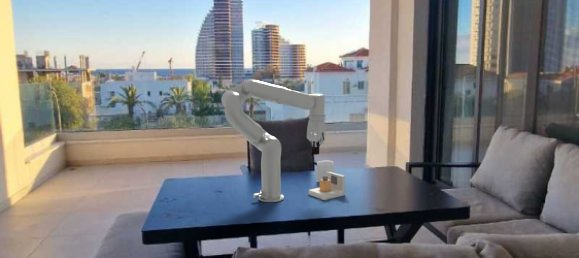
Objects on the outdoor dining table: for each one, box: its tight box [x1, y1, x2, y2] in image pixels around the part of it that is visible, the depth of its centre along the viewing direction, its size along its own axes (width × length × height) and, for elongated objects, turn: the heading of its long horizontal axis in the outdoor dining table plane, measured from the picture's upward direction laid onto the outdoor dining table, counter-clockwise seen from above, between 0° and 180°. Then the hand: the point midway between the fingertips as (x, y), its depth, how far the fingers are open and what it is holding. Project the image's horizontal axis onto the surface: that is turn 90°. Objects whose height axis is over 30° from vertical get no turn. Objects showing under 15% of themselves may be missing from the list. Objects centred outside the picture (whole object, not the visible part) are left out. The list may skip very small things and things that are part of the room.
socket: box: [308, 171, 346, 201], centre depth 225 cm, size 14×12×10 cm
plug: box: [319, 176, 331, 193], centre depth 225 cm, size 4×4×10 cm
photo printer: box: [315, 159, 335, 183], centre depth 251 cm, size 10×4×12 cm, turn 98°
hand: (315, 154), depth 225 cm, fingers closed
